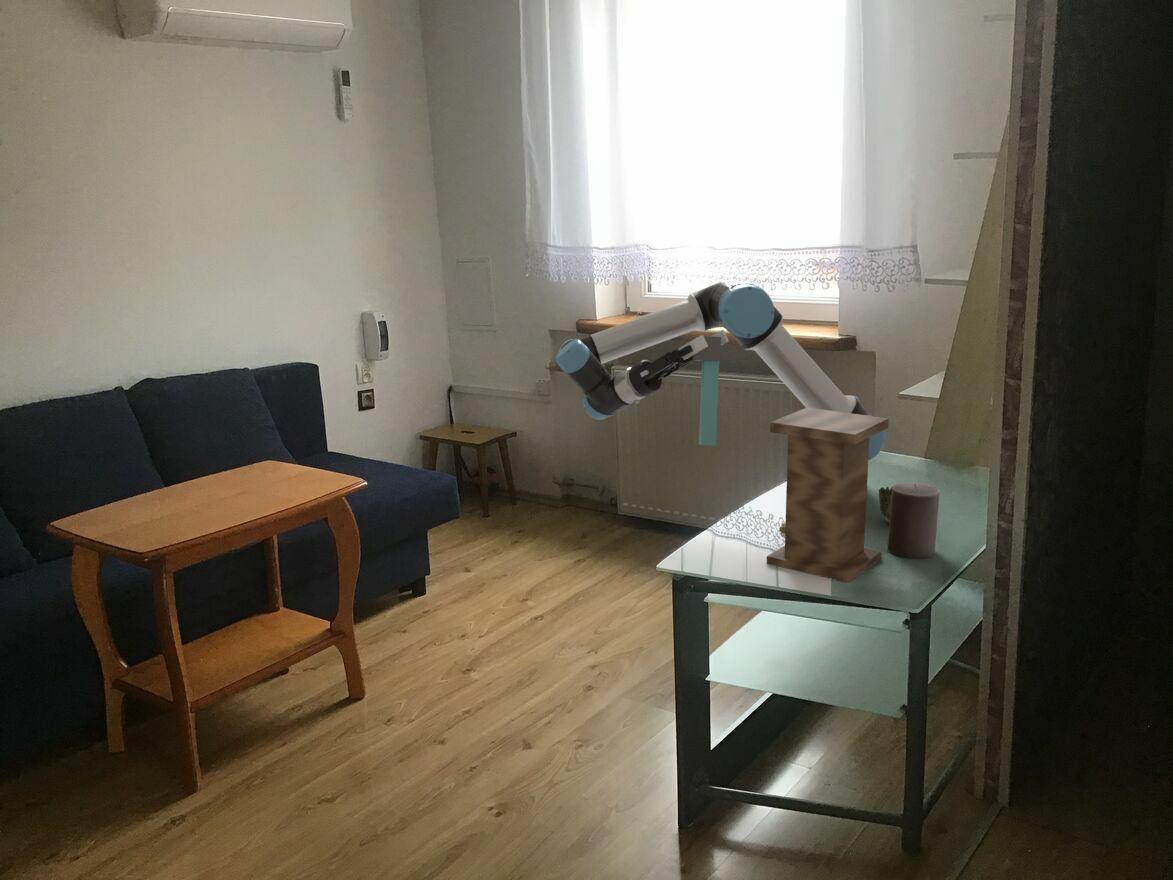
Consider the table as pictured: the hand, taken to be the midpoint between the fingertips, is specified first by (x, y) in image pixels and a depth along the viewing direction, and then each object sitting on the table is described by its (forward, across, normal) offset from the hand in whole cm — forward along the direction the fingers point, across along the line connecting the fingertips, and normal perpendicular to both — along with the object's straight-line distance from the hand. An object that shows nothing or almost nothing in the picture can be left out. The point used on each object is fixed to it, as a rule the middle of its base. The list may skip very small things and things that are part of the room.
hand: (714, 338), depth 223 cm
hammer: (-5, 0, -10) cm, 11 cm away
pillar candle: (+12, -16, -58) cm, 62 cm away
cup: (+3, -30, -53) cm, 61 cm away
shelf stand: (+1, 0, -52) cm, 52 cm away
